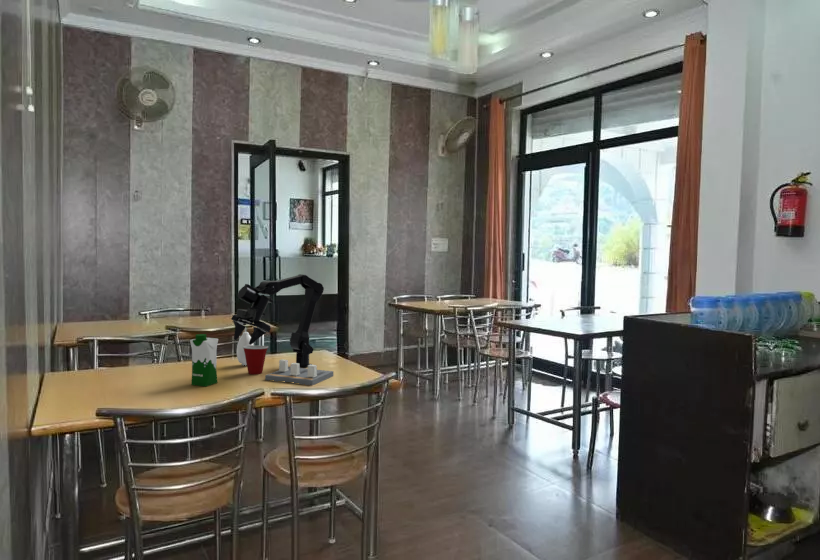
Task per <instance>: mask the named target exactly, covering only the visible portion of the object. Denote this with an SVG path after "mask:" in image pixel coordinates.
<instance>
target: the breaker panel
mask: <svg viewBox="0 0 820 560" xmlns="http://www.w3.org/2000/svg"><path fill="white" fill-rule="evenodd" d="M288 369H289V370H288V371H286V372H281V371H279V369H278V370H276V371H273V372H270V373H267V374H265V377H264V378H265V381H269V380H274V381H273V382H278V381H285V382H284V383H286V382H294V383H293V384H295V383H299V384H298V385H304V384H305V386H306V385H307V386H315V385H317V384H319V383H321V382H323V381H325V380H327V379H330V378H332V377H334V371H333V370H324V369H323V370H322V369H317V376H316V377H314V378H313V377H307V375H308V368H307V367H300V372H299V373H300V374H299V375H297V376H295V375H290V373H291V366H288Z"/></svg>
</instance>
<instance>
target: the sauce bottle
mask: <svg viewBox="0 0 820 560" xmlns="http://www.w3.org/2000/svg"><path fill="white" fill-rule="evenodd" d="M251 337H252V335H250V333H249V332H248V331H247V326H245V329H244V331H243V332H242V334H241V335H240V337H239V340H238V341H237V346H236V358H237V360H238V363H239V364H241V366H244V365H245V366H244V367H247V366H246V365H247V364H246V357H245V352H244V349H243V346H252V345H254V344H255V343H252V344H251V345H250V344H249V342H250V339H251Z"/></svg>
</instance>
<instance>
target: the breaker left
mask: <svg viewBox="0 0 820 560" xmlns="http://www.w3.org/2000/svg"><path fill="white" fill-rule="evenodd" d="M317 366H318V365H316V364H312V365H308V367H307V369H308V375H307V377H313V378H314V377H316V376H317V370H318V367H317Z"/></svg>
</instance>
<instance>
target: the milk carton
mask: <svg viewBox="0 0 820 560" xmlns="http://www.w3.org/2000/svg"><path fill="white" fill-rule="evenodd" d="M189 342H190V346H191V386H196V385H197V386H196V387H205V388H206V387H209V386H212V385H216V384H218V373H217V371H218V370H217V348H218V344H219V338H214V337H207V334H206V333H197V334H195V338H193V339H189Z"/></svg>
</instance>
